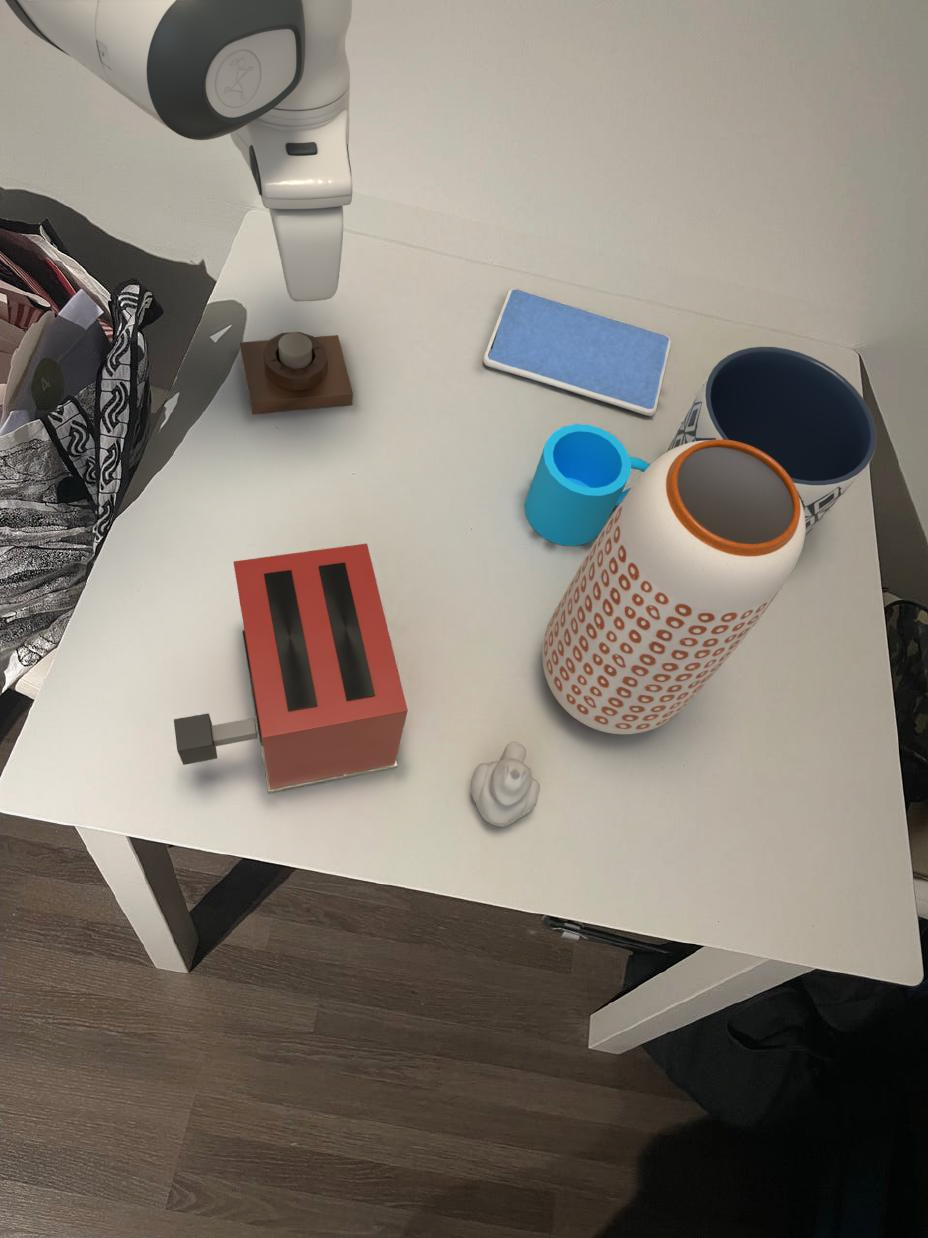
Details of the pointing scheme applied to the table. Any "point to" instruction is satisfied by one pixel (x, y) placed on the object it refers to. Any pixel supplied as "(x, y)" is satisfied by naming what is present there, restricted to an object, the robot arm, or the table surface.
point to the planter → (787, 420)
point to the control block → (295, 376)
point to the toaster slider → (208, 736)
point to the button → (295, 350)
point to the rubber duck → (505, 787)
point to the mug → (578, 484)
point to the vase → (673, 585)
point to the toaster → (320, 666)
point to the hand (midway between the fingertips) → (294, 266)
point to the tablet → (579, 351)
